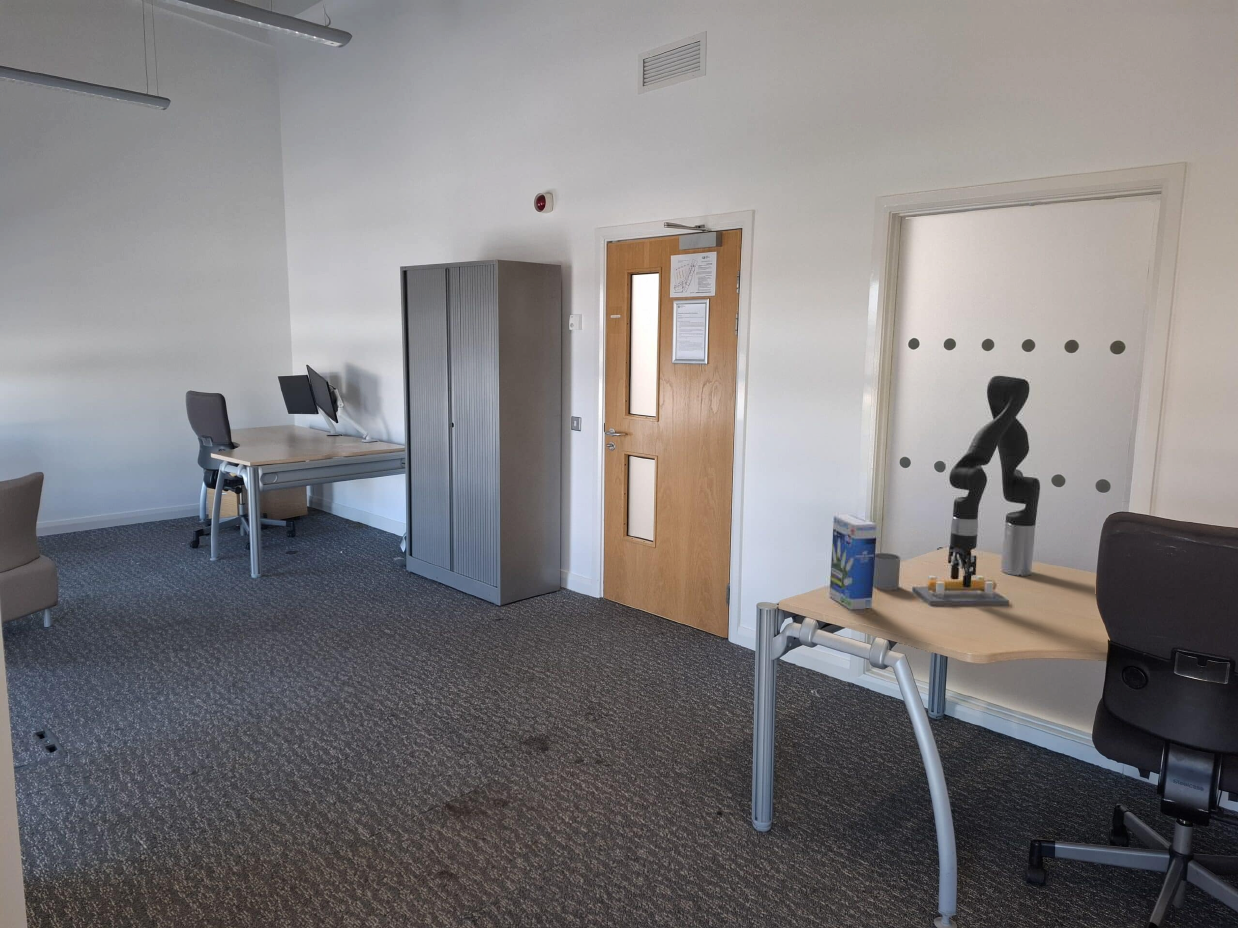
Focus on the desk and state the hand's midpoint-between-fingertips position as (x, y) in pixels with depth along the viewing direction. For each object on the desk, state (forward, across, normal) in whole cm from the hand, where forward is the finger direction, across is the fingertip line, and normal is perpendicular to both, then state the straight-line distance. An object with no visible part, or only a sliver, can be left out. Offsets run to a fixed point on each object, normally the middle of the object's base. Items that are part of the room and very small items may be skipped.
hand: (960, 583), depth 255 cm
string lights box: (+5, -4, +35) cm, 36 cm away
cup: (+5, +12, +19) cm, 23 cm away
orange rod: (+2, 0, 0) cm, 2 cm away
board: (+5, 0, 0) cm, 5 cm away
